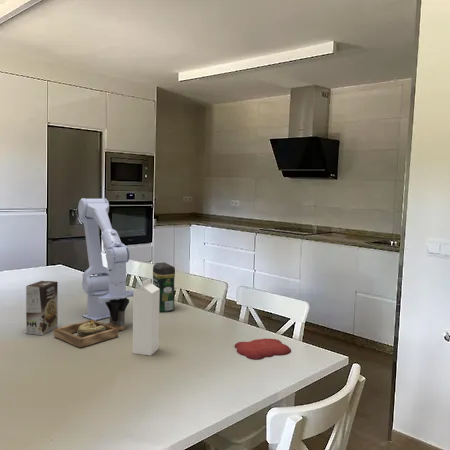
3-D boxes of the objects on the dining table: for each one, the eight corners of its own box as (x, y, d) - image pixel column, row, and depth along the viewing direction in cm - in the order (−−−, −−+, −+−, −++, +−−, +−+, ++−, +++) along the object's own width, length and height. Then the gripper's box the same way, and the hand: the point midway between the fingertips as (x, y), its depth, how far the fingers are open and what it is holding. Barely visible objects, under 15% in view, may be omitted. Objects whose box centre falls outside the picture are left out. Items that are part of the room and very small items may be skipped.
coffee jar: (149, 307, 189) (150, 261, 187) (167, 305, 193) (168, 260, 191) (157, 313, 181) (158, 266, 179) (176, 311, 185) (177, 264, 183)
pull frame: (105, 322, 167) (106, 305, 166) (132, 331, 158) (132, 313, 157) (53, 336, 151) (53, 317, 150) (80, 347, 142) (80, 327, 141)
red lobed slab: (249, 363, 136) (249, 356, 136) (227, 347, 149) (227, 341, 148) (298, 354, 144) (298, 348, 144) (273, 340, 157) (274, 334, 156)
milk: (132, 353, 140) (132, 281, 137) (140, 346, 145) (141, 276, 143) (151, 356, 138) (152, 282, 136) (159, 348, 144) (159, 278, 142)
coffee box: (43, 335, 152) (42, 287, 151) (25, 333, 153) (25, 285, 152) (58, 327, 161) (58, 281, 159) (41, 325, 162) (41, 279, 161)
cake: (91, 345, 147) (89, 329, 146) (69, 339, 152) (68, 323, 152) (114, 334, 156) (113, 319, 155) (92, 329, 161) (91, 314, 160)
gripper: (107, 286, 152) (107, 327, 153) (141, 280, 163) (140, 318, 165) (94, 283, 156) (94, 322, 158) (128, 277, 168) (127, 314, 169)
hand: (117, 320), depth 161 cm, fingers closed on pull frame, 2 cm apart
